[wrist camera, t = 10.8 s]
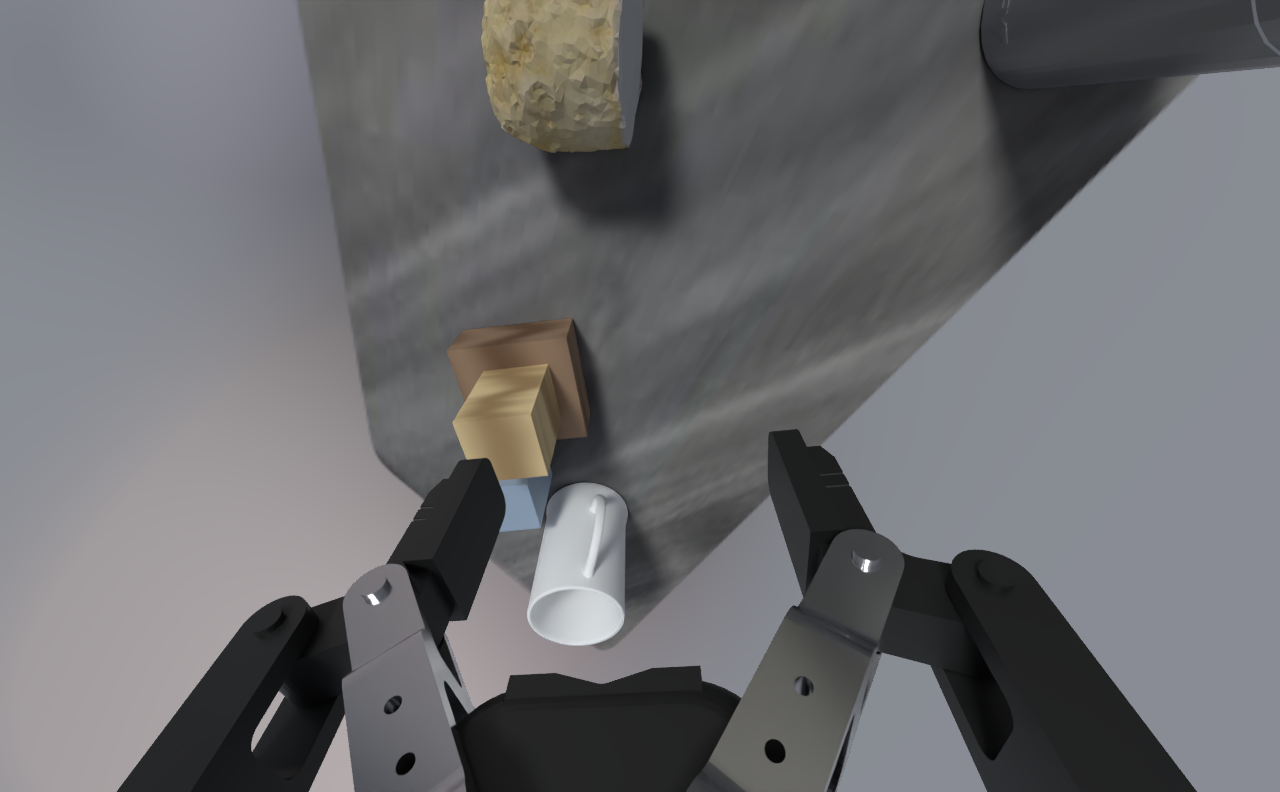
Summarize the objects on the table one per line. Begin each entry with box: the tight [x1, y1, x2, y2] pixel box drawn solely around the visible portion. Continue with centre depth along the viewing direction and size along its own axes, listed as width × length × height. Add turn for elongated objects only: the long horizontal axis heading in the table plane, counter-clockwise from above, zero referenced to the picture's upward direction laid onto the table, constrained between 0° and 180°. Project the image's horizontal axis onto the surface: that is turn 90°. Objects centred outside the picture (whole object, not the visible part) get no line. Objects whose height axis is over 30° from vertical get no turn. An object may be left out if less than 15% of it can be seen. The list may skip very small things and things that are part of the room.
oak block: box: [453, 364, 561, 481], centre depth 33 cm, size 5×5×7 cm
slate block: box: [499, 467, 553, 532], centre depth 41 cm, size 5×5×7 cm
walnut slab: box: [447, 318, 591, 440], centre depth 37 cm, size 9×9×4 cm
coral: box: [481, 0, 644, 153], centre depth 24 cm, size 10×10×10 cm
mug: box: [527, 482, 628, 646], centre depth 42 cm, size 12×8×12 cm
